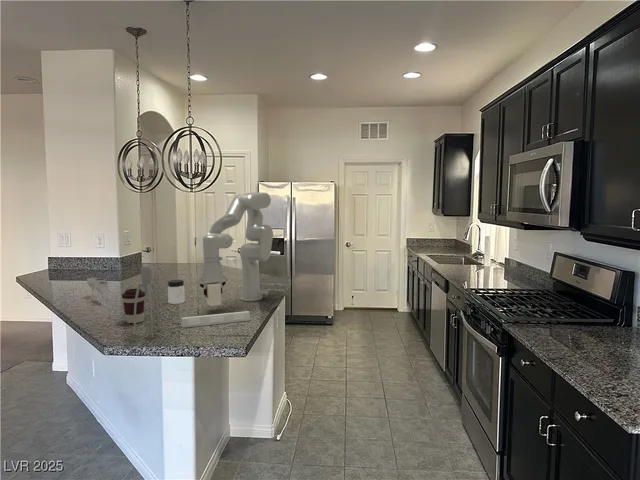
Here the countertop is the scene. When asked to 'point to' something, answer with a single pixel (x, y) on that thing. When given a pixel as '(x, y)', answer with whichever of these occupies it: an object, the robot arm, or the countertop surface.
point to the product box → (213, 294)
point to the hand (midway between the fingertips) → (213, 295)
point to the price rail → (215, 319)
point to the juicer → (146, 284)
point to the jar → (176, 292)
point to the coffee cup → (129, 305)
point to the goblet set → (98, 287)
